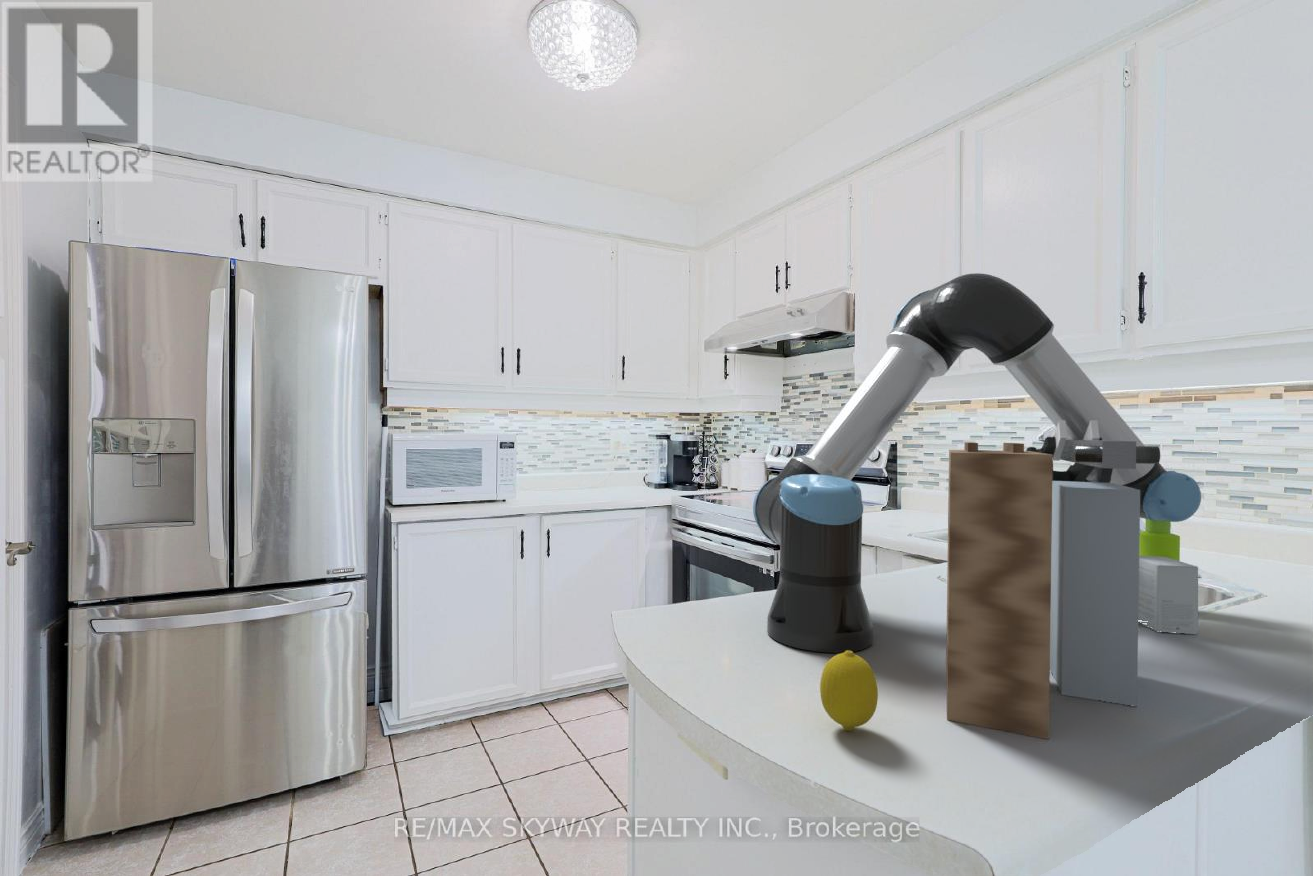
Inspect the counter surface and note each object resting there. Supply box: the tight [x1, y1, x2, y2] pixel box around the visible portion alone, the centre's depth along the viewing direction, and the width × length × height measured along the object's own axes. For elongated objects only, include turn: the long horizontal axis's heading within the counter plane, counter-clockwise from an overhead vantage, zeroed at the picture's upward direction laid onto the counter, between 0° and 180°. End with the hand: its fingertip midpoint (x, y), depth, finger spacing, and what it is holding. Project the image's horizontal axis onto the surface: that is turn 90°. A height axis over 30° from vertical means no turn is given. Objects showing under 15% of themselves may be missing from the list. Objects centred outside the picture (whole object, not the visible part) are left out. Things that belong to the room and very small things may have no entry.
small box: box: [1138, 556, 1199, 635], centre depth 96 cm, size 8×6×10 cm
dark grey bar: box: [1060, 440, 1161, 469], centre depth 74 cm, size 7×28×3 cm, turn 155°
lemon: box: [819, 650, 879, 731], centre depth 60 cm, size 6×6×8 cm
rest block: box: [1050, 481, 1141, 707], centre depth 73 cm, size 7×12×24 cm, turn 154°
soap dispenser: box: [1139, 519, 1181, 562], centre depth 106 cm, size 6×7×20 cm
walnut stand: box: [945, 441, 1054, 740], centre depth 69 cm, size 9×18×29 cm, turn 155°
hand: (1078, 429), depth 80 cm, fingers closed on dark grey bar, 3 cm apart
